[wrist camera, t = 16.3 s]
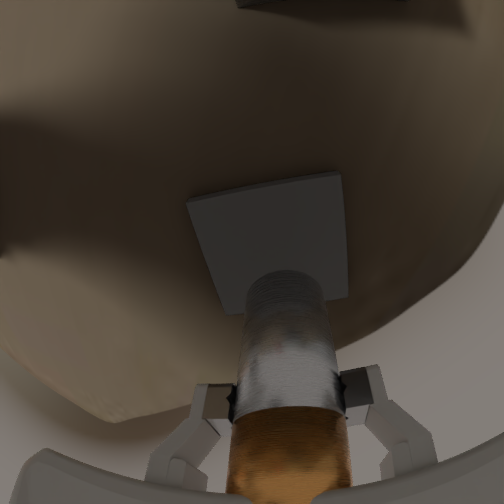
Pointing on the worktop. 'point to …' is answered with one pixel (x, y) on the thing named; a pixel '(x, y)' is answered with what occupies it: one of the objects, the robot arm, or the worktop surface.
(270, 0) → the block
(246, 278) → the pad
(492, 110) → the worktop surface
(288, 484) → the gold and grey cylinder
